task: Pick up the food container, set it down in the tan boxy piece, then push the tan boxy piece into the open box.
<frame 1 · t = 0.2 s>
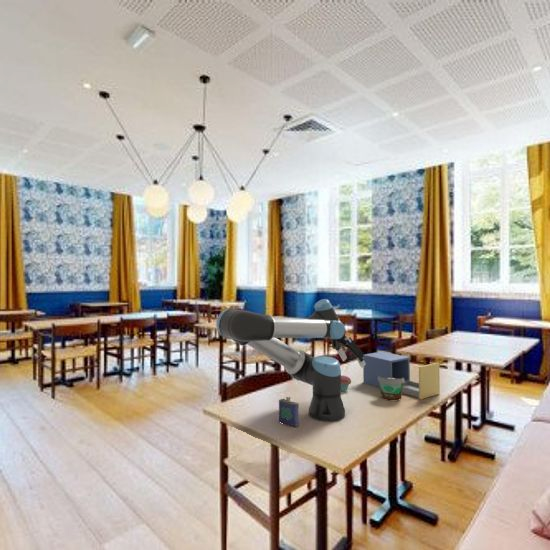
hand: (354, 362, 184), 16 cm above the table, tool tilted 35°, fingers open, 13 cm apart
food container: (391, 399, 176), on the table
open box: (386, 384, 201), on the table
cupcake: (342, 390, 192), on the table
tan boxy piece: (414, 376, 187), point 8 cm above the table, slide at 16.0 cm
flask: (288, 424, 148), on the table
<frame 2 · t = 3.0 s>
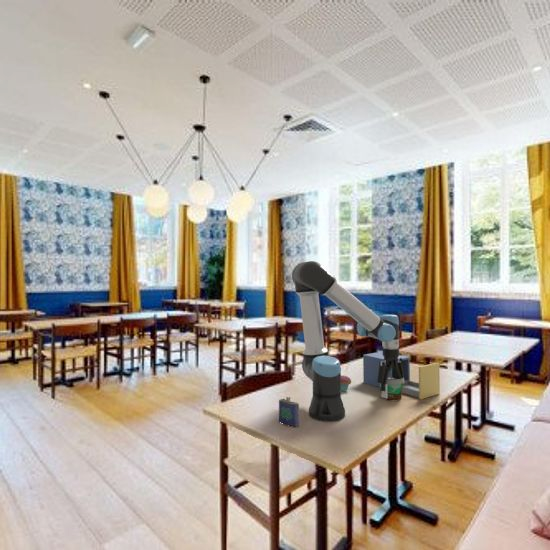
hand: (391, 395, 177), 2 cm above the table, tool pointing down, fingers open, 9 cm apart
nothing on the table moved.
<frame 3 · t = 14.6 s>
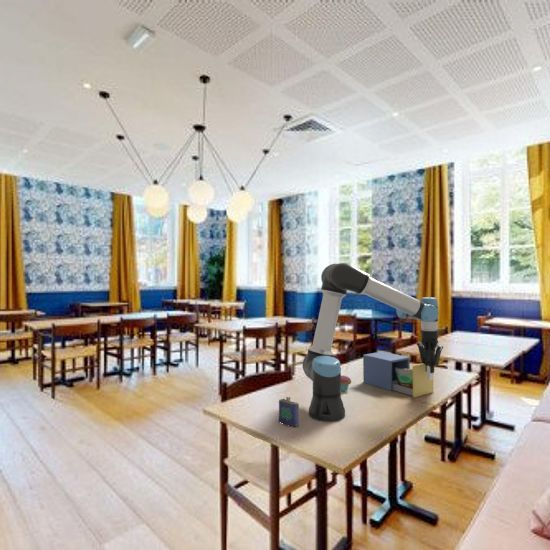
hand: (429, 379, 179), 8 cm above the table, tool pointing down, fingers closed
food container: (407, 389, 189), point 1 cm above the table, touching tan boxy piece
tan boxy piece: (408, 375, 189), point 8 cm above the table, slide at 12.6 cm, touching food container, gripper
everything else where it was.
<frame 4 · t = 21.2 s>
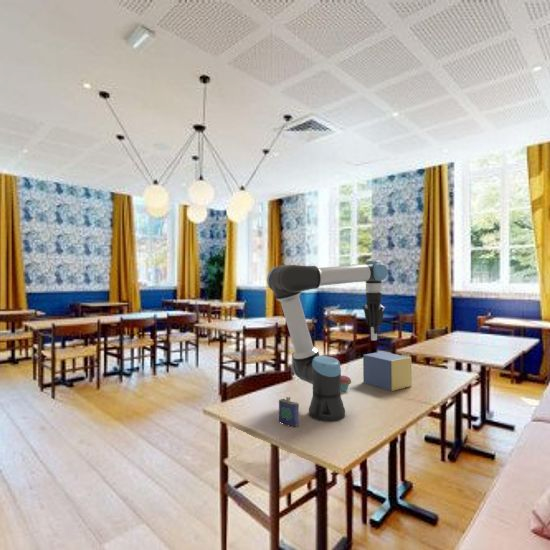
hand: (374, 340, 185), 26 cm above the table, tool pointing down, fingers closed
food container: (387, 383, 199), point 1 cm above the table, touching tan boxy piece
tan boxy piece: (388, 370, 200), point 8 cm above the table, slide at 0.0 cm, touching food container
everything else where it was.
at the end: tan boxy piece slide at 0.0 cm; food container inside the target area (1.3 cm from its centre), point 1.0 cm above the table; food container tilted 0° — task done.
